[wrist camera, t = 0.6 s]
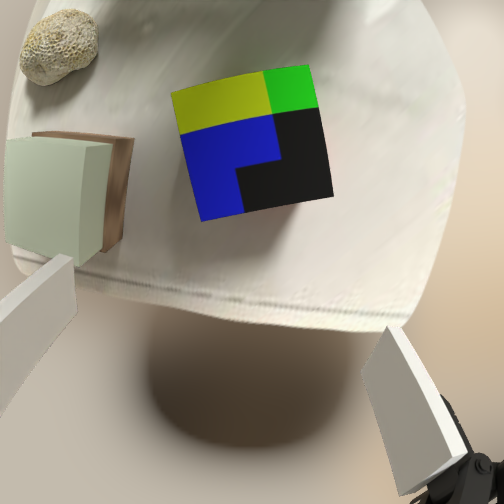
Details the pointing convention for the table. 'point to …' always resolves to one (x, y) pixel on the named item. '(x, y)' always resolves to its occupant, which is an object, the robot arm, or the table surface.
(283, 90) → the puzzle toy
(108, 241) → the walnut slab
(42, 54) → the decorative item
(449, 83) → the table surface
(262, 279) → the table surface
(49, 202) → the sage slab
